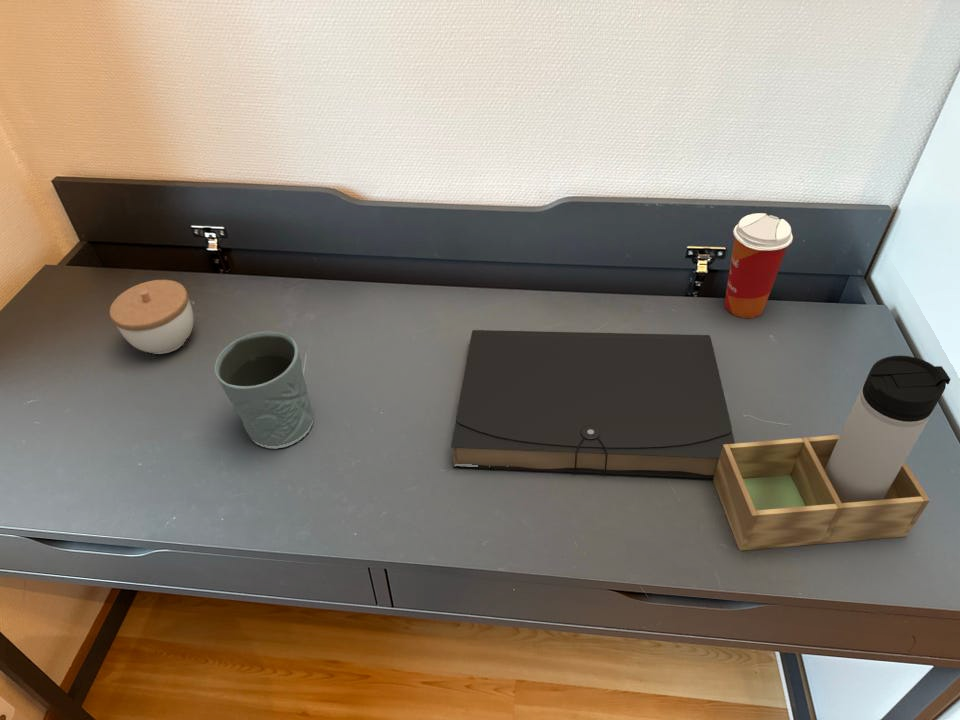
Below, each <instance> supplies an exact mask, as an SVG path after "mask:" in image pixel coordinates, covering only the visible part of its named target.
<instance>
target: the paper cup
mask: <svg viewBox="0 0 960 720" xmlns="http://www.w3.org/2000/svg"><path fill="white" fill-rule="evenodd" d="M733 236H734V241H733V247H732V253H731V259H730V265H729V272H728V279H727V285H726V290H725V291H726V292H725V300H724V307H725V310H726V311H728V312H729V314H731V315H733V316H735V317H738V318H741V319H753V318H757V317H759V316H761V315H762V314H763V312H764V310H765V308H766V306H767V303H768V300H769V297H770V296H771V295H770V294H771V292H772V289H773V287H774V284H775V281H776V278H777V277H778V273H779V270H780V268H781V265H782V262H783V260H784V257H785V254H786V252H787V249H788V246H790V244H792V243H793V239H794V237H793V233H792V227H791V225H790V223H789V222H788V221H787V220H785V219H783V218H781V219H780V218H779V217H778V216H774V215H772V214H770V215H768V214H767V213H765V212H764V213H763V212H760V213H757V212H756V213H751V214H747V215H745V216H743V217H742V218H740V220H739V221H738V223H737V224H736V225H735V227H734V228H733Z"/></svg>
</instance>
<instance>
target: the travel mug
mask: <svg viewBox="0 0 960 720" xmlns="http://www.w3.org/2000/svg"><path fill="white" fill-rule="evenodd" d="M950 383H951V378H950V376H949V375H948V373H947V371H946V370H945V369H944V367H943V366H942V365H938V366H935V365H934V364H933V363H930V362H928V361H926V360H924V359H921V358H918V357H916V356H910V355H891V356H887V357H883V358H881V359H879V360H877V361H876V362H875V363H874V364H873V365H872V366H871V368H870V370H869V373H868V374H867V376H866V379H865V381H864V383H863V384H862V386H861V389H860V391H859V392H858V395H857V397H856V399H855V401H854V404H853V405H852V408H851V410H850V412H849V415H848V417H847V419H846V422H845V424H844V426H843V428H842V430H841V433H840V434H839V435H840V437H839V439H838V441H837V443H836V446H835V448H834V450H833V452H832V454H831V457H830V459H829V461H828V463H827V465H826V468H825V470H824V471H825V473H826V475H827V477H828V478H829V480H830V482H831V484H832V486H833V488H834V490H835V492H836V494H837V495H838V497H839V499H840V501H841V503H850V502H862V501H873V500H883V498H884V497H885V495H886V493H887V491H888V490H889V488H890V486H891V484H892V483H893V481H894V479H895V477H896V476H897V474H898V472H899V470H900V469H901V467H902V465H903V463H904V462H906V460H907V458H908V457H909V455H910V453H911V451H912V450H913V448H914V446H915V445H916V442H917V441H918V439H919V438H920V435H921V434H922V432H923V430H924V428H925V427H926V425H927V423H928V421H929V420H930V419H931V417H932V415H933V413H934V410H935V408H936V405H937V404H938V403H939V401H940V399H941V397H942V396H943V394H944V393H945V390H946V386H947V385H949V384H950Z"/></svg>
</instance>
